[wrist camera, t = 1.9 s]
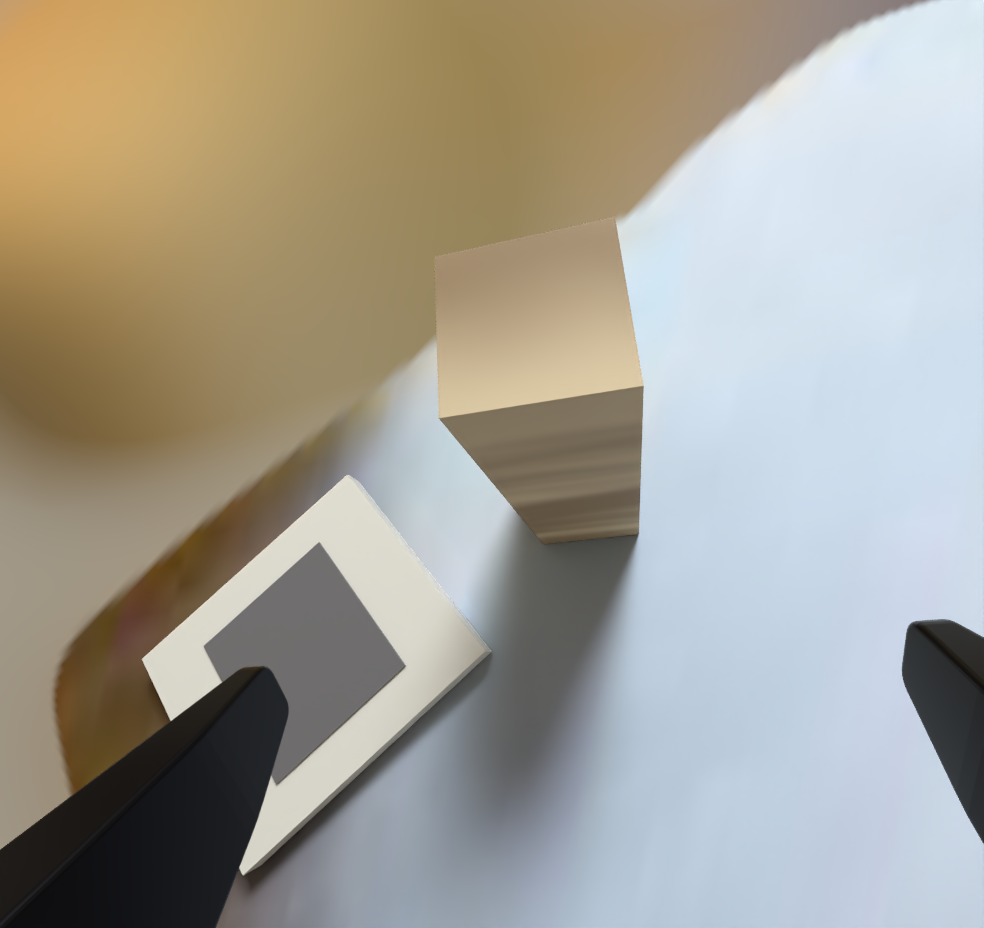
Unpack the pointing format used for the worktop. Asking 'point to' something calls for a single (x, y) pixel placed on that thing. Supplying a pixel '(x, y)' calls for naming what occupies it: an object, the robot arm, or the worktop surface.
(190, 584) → the worktop surface
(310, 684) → the mat
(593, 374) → the wooden block
